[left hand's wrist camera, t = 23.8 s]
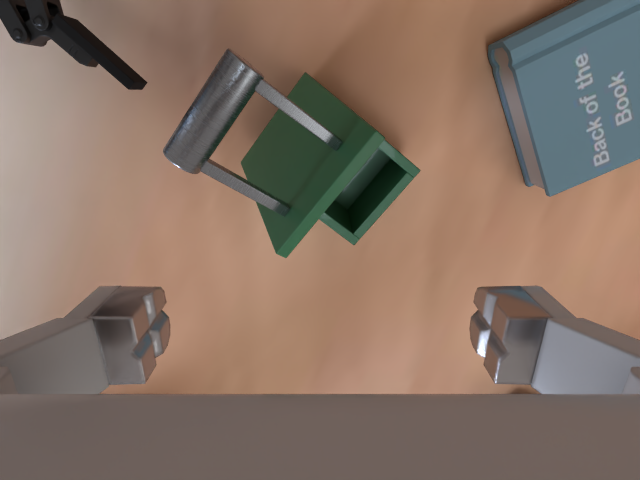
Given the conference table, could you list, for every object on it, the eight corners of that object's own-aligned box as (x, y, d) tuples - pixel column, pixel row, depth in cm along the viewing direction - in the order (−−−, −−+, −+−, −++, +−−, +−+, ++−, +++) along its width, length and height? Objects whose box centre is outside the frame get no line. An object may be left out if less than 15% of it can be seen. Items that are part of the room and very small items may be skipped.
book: (526, 185, 45) (549, 196, 40) (485, 46, 40) (506, 40, 35) (735, 94, 41) (787, 95, 37) (720, -72, 36) (780, -96, 31)
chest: (401, 155, 44) (420, 170, 35) (348, 217, 47) (354, 245, 38) (310, 77, 41) (308, 75, 33) (259, 149, 44) (245, 163, 35)
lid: (386, 138, 22) (255, 25, 17) (286, 258, 25) (146, 194, 19) (312, 78, 32) (218, -3, 27) (248, 167, 35) (150, 109, 30)
